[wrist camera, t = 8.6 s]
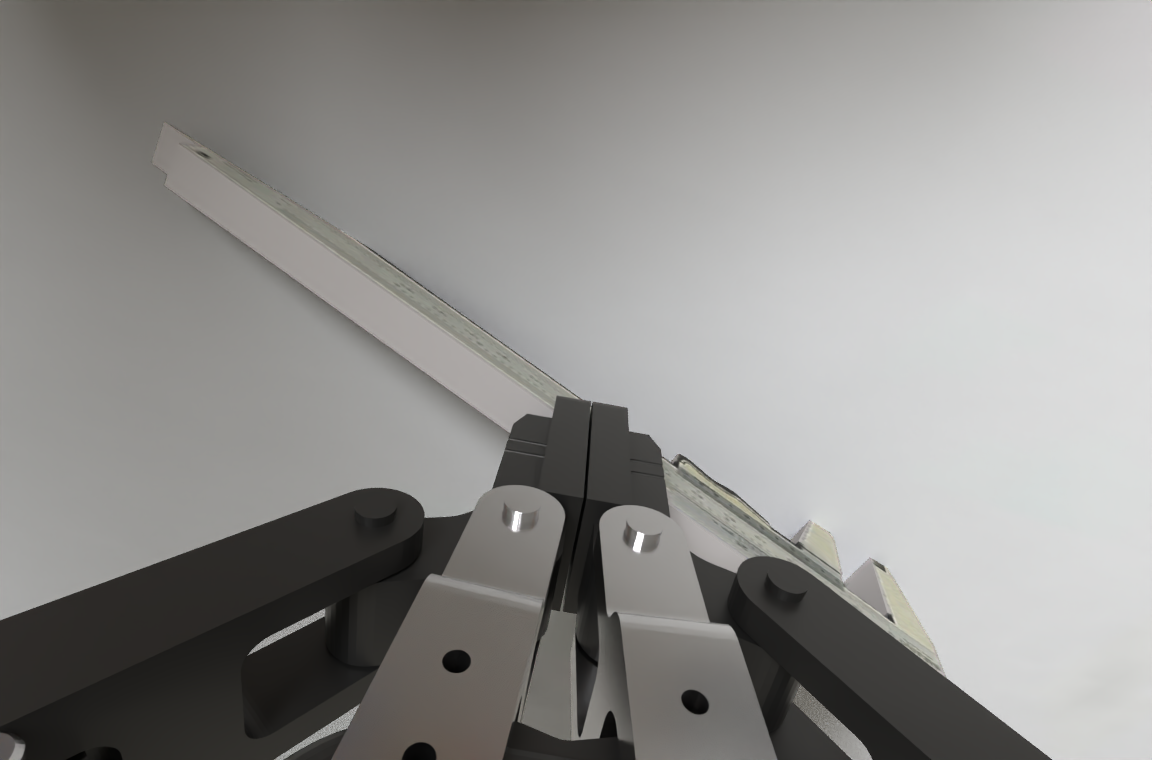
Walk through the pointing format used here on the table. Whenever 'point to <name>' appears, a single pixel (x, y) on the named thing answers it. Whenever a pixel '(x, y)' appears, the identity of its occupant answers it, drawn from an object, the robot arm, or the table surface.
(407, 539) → the robot arm
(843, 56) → the table surface
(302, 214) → the caliper
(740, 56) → the table surface
